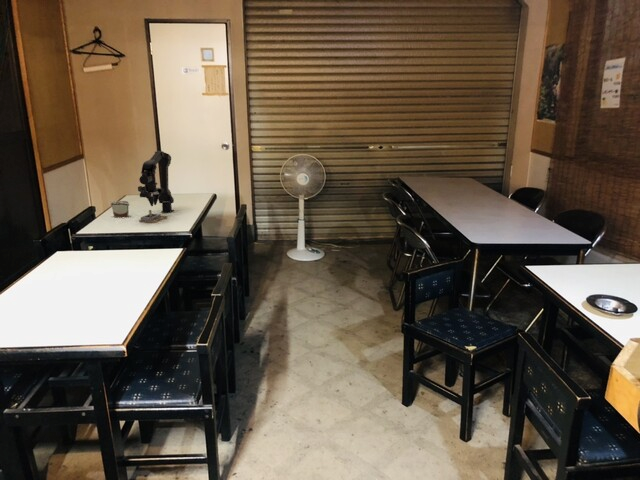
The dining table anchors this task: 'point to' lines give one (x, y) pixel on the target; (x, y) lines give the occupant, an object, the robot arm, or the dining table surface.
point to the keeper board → (153, 220)
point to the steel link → (154, 217)
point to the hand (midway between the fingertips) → (153, 205)
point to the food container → (120, 209)
